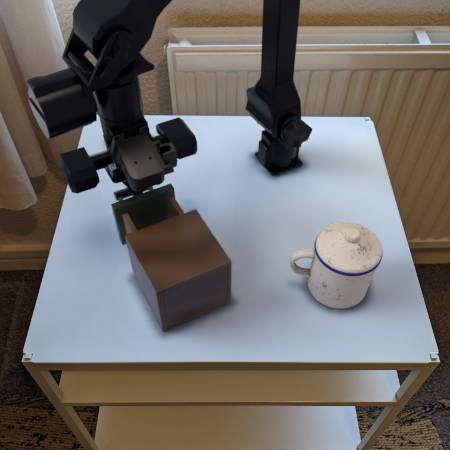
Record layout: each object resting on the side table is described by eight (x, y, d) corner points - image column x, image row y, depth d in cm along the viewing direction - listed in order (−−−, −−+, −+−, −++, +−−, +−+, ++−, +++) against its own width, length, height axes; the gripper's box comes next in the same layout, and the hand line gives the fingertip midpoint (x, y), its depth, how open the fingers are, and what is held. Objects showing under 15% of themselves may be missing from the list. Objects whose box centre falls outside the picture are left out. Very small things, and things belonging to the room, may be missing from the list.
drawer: (108, 219, 80) (99, 182, 74) (162, 200, 83) (157, 163, 76) (143, 283, 73) (135, 249, 67) (201, 260, 76) (199, 225, 69)
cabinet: (134, 278, 75) (124, 235, 67) (198, 253, 78) (195, 208, 70) (163, 332, 70) (155, 292, 62) (230, 303, 72) (231, 261, 65)
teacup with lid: (364, 263, 77) (385, 209, 67) (370, 313, 72) (393, 262, 62) (286, 258, 77) (295, 204, 68) (286, 308, 72) (296, 256, 62)
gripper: (69, 169, 58) (97, 255, 70) (214, 122, 63) (215, 211, 75) (42, 115, 63) (72, 205, 76) (177, 77, 68) (183, 167, 81)
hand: (137, 198), depth 77 cm, fingers closed, pressing on drawer
